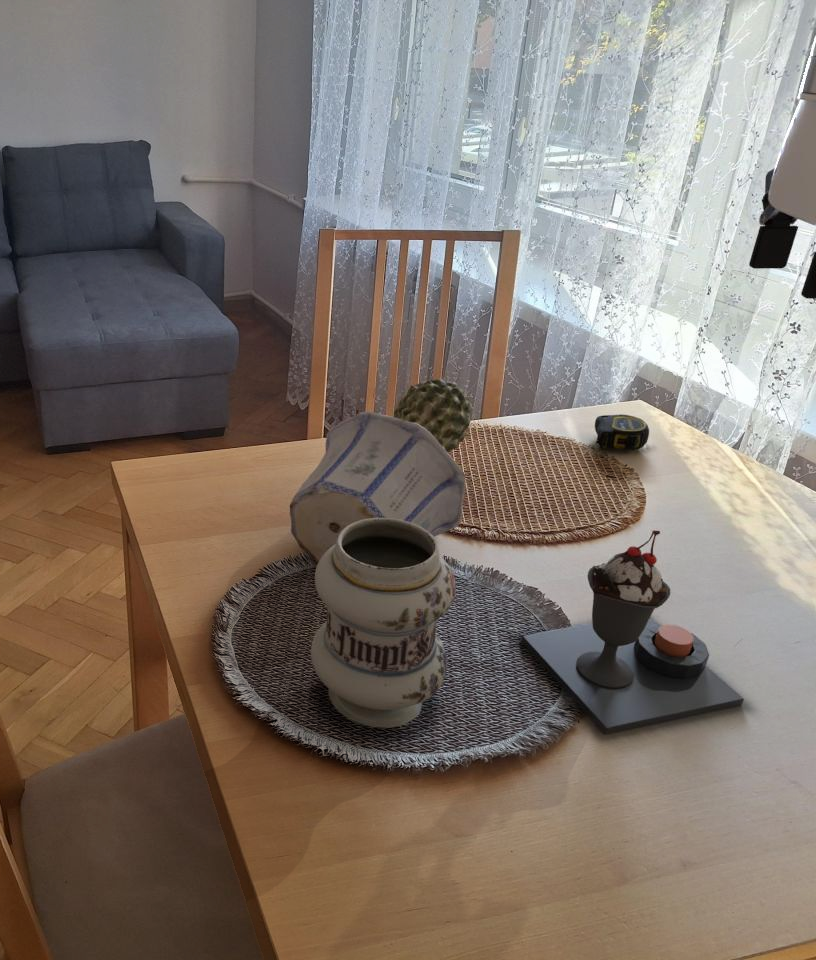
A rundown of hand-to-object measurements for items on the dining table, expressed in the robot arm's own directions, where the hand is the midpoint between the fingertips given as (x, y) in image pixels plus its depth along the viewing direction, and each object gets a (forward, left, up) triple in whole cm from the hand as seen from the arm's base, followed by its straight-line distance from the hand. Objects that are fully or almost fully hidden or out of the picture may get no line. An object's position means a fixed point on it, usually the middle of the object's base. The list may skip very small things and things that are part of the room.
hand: (792, 281), depth 80 cm
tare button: (+10, +17, -31) cm, 36 cm away
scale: (+14, +18, -33) cm, 40 cm away
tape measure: (-1, -32, -34) cm, 46 cm away
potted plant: (+33, -7, -34) cm, 48 cm away
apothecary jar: (+38, +23, -34) cm, 56 cm away
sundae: (+16, +19, -32) cm, 40 cm away
